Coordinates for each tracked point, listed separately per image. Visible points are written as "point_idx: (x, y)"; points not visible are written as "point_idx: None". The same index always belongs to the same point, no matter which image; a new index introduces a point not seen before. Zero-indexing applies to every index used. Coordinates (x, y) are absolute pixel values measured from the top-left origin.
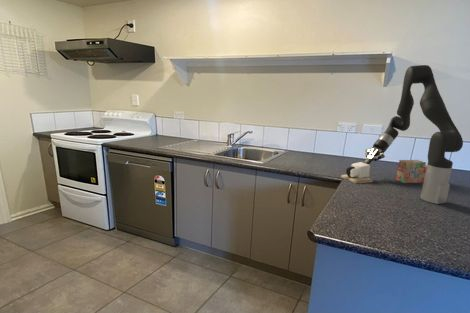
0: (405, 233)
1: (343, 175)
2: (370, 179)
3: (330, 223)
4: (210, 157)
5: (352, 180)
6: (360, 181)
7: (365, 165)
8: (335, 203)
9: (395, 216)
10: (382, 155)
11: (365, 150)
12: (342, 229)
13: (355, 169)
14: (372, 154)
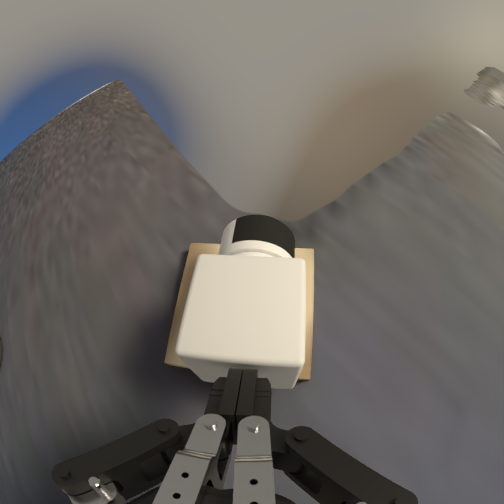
0: (31, 154)
1: (301, 253)
2: (175, 354)
3: (111, 93)
4: (479, 90)
5: (219, 246)
6: (185, 270)
7: (191, 305)
8: (137, 113)
9: (39, 175)
10: (70, 467)
11: (404, 493)
12: (95, 99)
13: (226, 240)
14: (202, 459)
